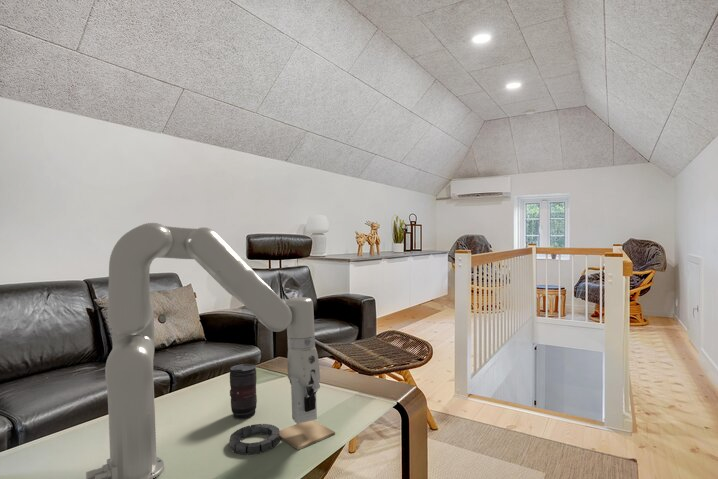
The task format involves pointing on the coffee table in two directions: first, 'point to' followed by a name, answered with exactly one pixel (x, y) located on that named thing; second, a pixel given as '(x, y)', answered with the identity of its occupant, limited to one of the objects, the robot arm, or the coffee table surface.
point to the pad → (305, 434)
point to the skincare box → (300, 403)
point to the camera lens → (243, 390)
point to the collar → (257, 446)
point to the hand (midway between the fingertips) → (304, 406)
